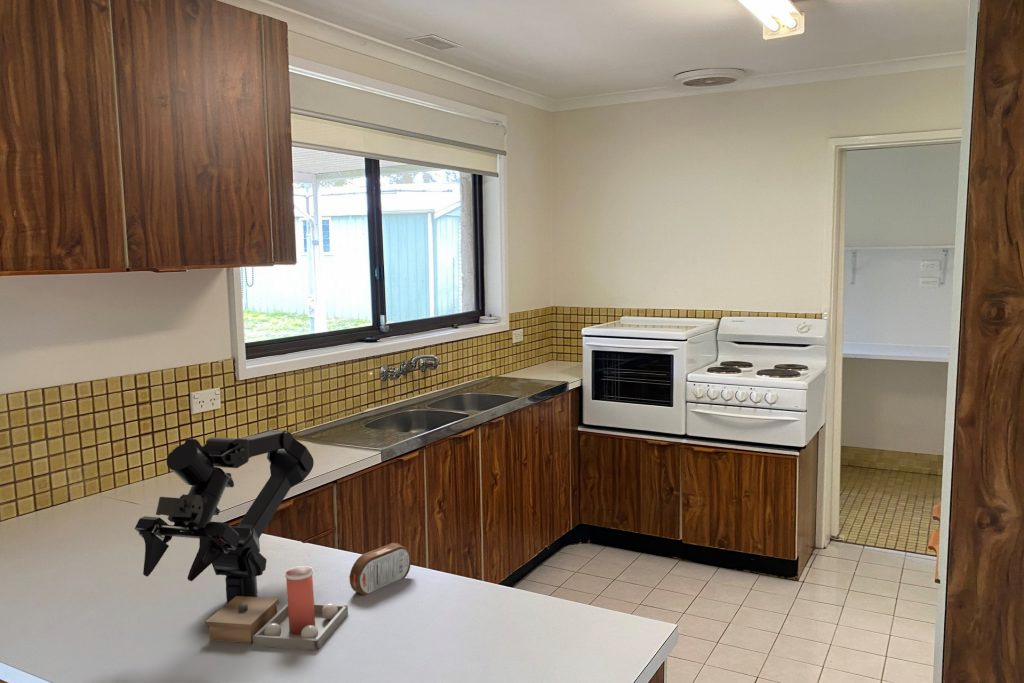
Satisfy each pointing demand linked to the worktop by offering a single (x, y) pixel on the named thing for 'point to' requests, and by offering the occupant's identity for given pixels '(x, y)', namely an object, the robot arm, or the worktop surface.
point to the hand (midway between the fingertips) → (167, 577)
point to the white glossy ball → (309, 632)
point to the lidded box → (241, 618)
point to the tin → (380, 568)
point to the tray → (296, 641)
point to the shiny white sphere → (272, 630)
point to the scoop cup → (300, 598)
